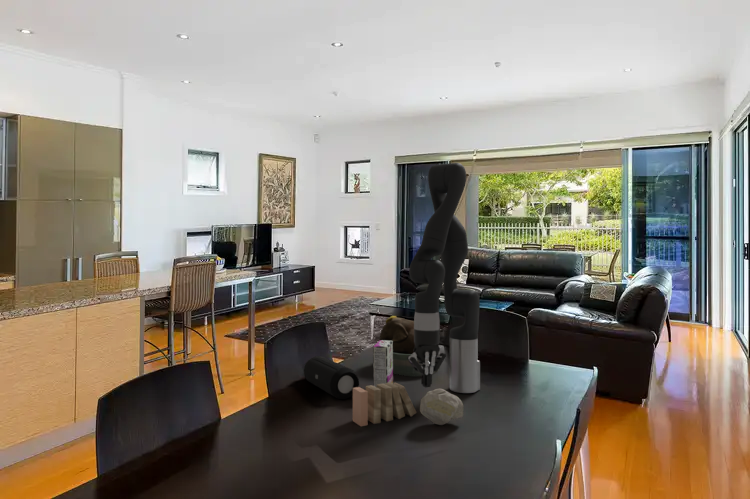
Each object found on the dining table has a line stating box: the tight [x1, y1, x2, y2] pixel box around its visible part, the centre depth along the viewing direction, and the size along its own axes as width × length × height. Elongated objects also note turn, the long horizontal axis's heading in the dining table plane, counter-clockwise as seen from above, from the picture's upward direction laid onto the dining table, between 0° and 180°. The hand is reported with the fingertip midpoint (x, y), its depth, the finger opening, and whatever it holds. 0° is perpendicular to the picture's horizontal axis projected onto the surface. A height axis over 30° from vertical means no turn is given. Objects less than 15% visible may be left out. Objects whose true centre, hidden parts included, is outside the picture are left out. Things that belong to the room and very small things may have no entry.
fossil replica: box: [419, 388, 465, 426], centre depth 130 cm, size 12×8×10 cm
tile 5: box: [352, 386, 369, 427], centre depth 132 cm, size 2×5×9 cm, turn 29°
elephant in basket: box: [379, 315, 441, 377], centre depth 187 cm, size 23×25×22 cm
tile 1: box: [393, 381, 417, 417], centre depth 139 cm, size 2×5×9 cm, turn 29°
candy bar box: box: [372, 340, 394, 387], centre depth 161 cm, size 11×5×16 cm, turn 168°
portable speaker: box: [303, 355, 360, 400], centre depth 163 cm, size 26×10×10 cm, turn 31°
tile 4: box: [365, 384, 382, 425], centre depth 134 cm, size 2×5×9 cm, turn 29°
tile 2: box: [385, 382, 406, 420], centre depth 138 cm, size 2×5×9 cm, turn 29°
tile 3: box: [377, 383, 394, 422], centre depth 136 cm, size 2×5×9 cm, turn 29°
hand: (426, 386), depth 143 cm, fingers closed
